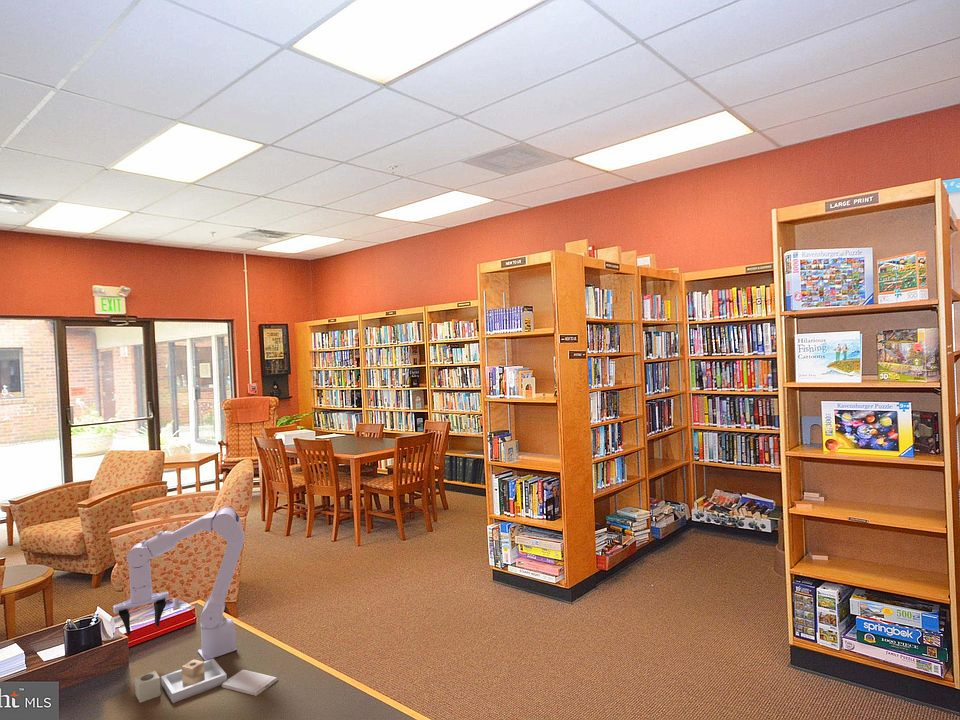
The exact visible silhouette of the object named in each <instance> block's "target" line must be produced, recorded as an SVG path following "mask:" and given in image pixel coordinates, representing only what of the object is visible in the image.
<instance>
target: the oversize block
mask: <svg viewBox="0 0 960 720" xmlns="http://www.w3.org/2000/svg"><path fill="white" fill-rule="evenodd" d="M134 684H135V685H134V687H135V696H136V697H135V698H137V700H138V703H139V704H141V703H143V702H147V701H149V700H151V699H154V698H158V697H160V696H161V676H159V674H158V673H157V671H156V670H152V671H150V672H147V673H144V674H141V675H137V676H135V677H134Z"/></svg>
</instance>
